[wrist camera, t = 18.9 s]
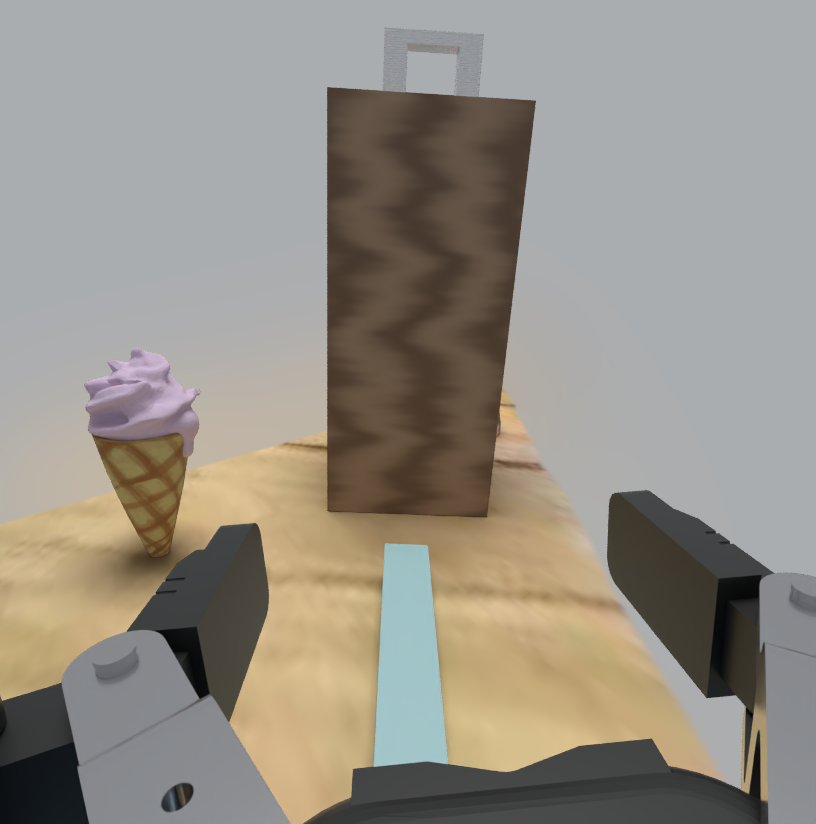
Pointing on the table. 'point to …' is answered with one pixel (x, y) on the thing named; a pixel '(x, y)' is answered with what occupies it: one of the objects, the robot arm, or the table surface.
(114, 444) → the ice cream cone
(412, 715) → the peg
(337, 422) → the plinth
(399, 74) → the arch
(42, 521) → the table surface
